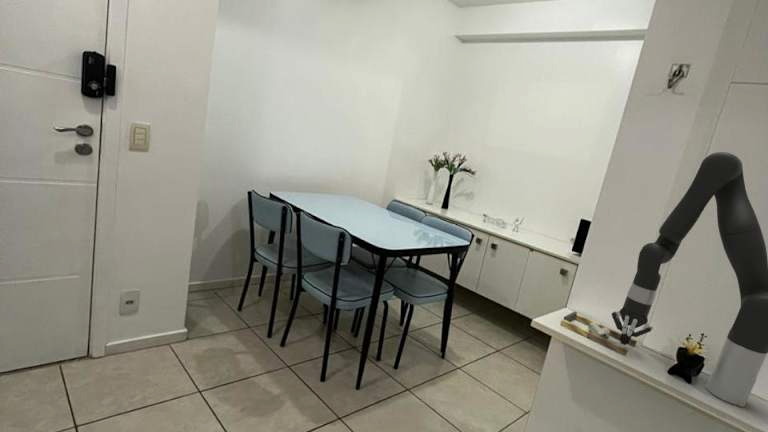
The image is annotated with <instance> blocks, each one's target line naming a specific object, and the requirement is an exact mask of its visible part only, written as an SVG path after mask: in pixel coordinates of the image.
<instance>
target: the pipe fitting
mask: <svg viewBox="0 0 768 432" xmlns="http://www.w3.org/2000/svg"><path fill="white" fill-rule="evenodd" d="M595 322H596V321H594V323H590V324H589V326H588V325H587V326H588V327H587V329H588V331H590V332H592V333H594V334H596V335H598V336H600V337H602V338H604V339H607V340H609V335H610V330H609V329H608V328H609V327H607V328H605V327H606V326H605V327H604V328H600V327H599V326H598V325H597V324H596V323H597V322H596V323H595Z"/></svg>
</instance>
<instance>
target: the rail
mask: <svg viewBox="0 0 768 432" xmlns="http://www.w3.org/2000/svg"><path fill="white" fill-rule="evenodd" d="M573 321H577V322H580V323H582V324H584V325H585V326H589V324H590V323H594V322H595V323H596V324H597V325H598V326H599V327H600V328H604V327H605V328H608V329H609V330H610V335H609V336H610V337H611V338H614V339H616V340H619V339H620V337H621V334H622V332H619V331H617V330H613V329H612V328H609V327H608V326H605V325H603V324H601V323H598V322H597V321H595V320H592V319H589V318H587V317H585V316H583V315H581V314H578V312H577V311H573V312H571V313H569V314H567V315H564V316H563V319H561V322H560V326H562V327H563V328H566V329H568V330H571V331H572V332H574V333H577V334H579V335H580V336H582V337H584V338H587V339H589V340H591V341H593V342H595V343H596V344H598V345H601V346H604V347H605V348H607V349H609V350H611V351H612V352H613V351H614V352H615V353H617V354H620V355H622V356H624V357H625V356H626V355H627V353H628V350H629V349H627V348H625V347H623V346H621V345H619V344H616V343H615V342H613V341H610V340H609V339H608V340H607V339H604V338H602V337H600V336H598V335H596V334H594V333H592V332H591V331H590V330H589V329H588V330H587V329H585V328H583V327H581V326H579V325H577V324H575V323H573ZM619 341H620V340H619ZM637 342H638V340H637V339H634V338H632V337H631V339H630V342H629V343H628V344H627V345H629V346H631V347H633V348H635V347H636V345H637Z"/></svg>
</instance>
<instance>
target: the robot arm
mask: <svg viewBox="0 0 768 432" xmlns="http://www.w3.org/2000/svg"><path fill="white" fill-rule="evenodd" d="M713 197H714V199H715V203H716V217H717V227H718V231H719V232H718V233H719V237H720V240H721V243H722V246H723V250H724V253H725V254H726V257H727V259H728V262H729V263H730V265H731V268H732V270H733V271H734V273H735V276H736V279H737V284H738V289H739V296H740V308H739V310H738V313H737V315H736V318H735V320H734V322H733V324H732V326H731V328H730V329H729V332H728V334H727V337H726V338H725V341H724V343H723V346H722V348H721V350H720V353H719V354H718V358H717V360H716V362H715V364H714V367H713V368H712V371H711V373H710V377H709V379H708V380H707V383H706V386H705V388H706V390H708V391H707V392H709V393H710V394H712V395H713V396H715V397H717V398H718V399H720V400H723V401H724V402H727V403H729V404H733V405H736V406H739V407H741V408H744V407H745V406H746V404H747V401H748V399H749V397H750V394H751V393H752V390H753V387H754V386H755V384H756V382H757V377H758V375H759V374H760V371H761V368H762V366H763V365H764V362H765V359H766V358H767V355H768V253H767V246H766V242H765V238H764V236H763V231H762V229H761V225H760V223H759V221H758V217H757V214H756V212H755V210H754V208H753V206H752V203H751V201H750V199H749V197H748V194H747V189H746V185H745V178H744V170H743V162H742V160H741V159H740V158H739V157H738V156H736V155H735V154H732V153H729V152H726V151H719V152H718V151H717V152H713V153H711V154H709V155H708V156H706V157H705V158H704V159H703V160H702V162H701V164H700V166H699V169H698V170H697V173H696V175H695V177H694V179H693V180H692V182H691V184H690V185H689V187H688V189H687V191H686V192H685V194H684V195H683V197H681V199H680V201H679V202H678V203H677V204H676V206H675V207H674V208H673V210H672V211H671V212H670V214H669V215H668V216H667V218H666V219H665V221H664V222H663V223H662V225H661V226H660V228H659V230H658V233H659V235H658V237H657V239H656V240H655V241H654V242H649V243H646V244H644V245H643V246H642V248H641V249H640V251H639V254H638V257H637V258H638V259H637V265H636V266H637V270H636V273H635V275H634V278H633V280H632V283H631V286H629V290H628V291H627V293H626V294H627V295H626V298H625V300H624V303H623V305H622V308H620V309H619V311H613V312H612V313H611V317H612V319H613V322H614V324H615V327H616V329H617V330H619V331H620V333H621V337H620V339H619V342H620V344H621V345H624V346H626V345H629V344H628V343H629V342H630V339H631V338H632V337H634V338H637V337H641V336H643V335H645V334H648V333H650V332H651V331H653V329H654V328H653V326H651V325H649V323H648V322H649V319H648V317H649V314H650V311H651V308H652V306H653V303H654V300H655V298H656V293H657V289H658V287H659V284H660V282H661V273H660V270H661V265H662V264H667V263H669V262H670V261H671V260H672V259H673V258H674V257H675V255H676V254H677V251H678V249H679V247H680V245H681V243H682V241H683V240H684V239H685V237H686V236H687V235H688V234H689V233H690V231H691V230H692V229H693V227H694V226H695V224H696V223H697V222H698V220H699V219H700V217H701V215H702V213H703V211H704V209H705V208H706V206H707V205H708V203H709V202H710V201H711V200H712V198H713ZM620 317H621V319H620ZM621 321H622V322H623V324H622V322H621ZM639 327H642V329H641V330H638V331H635V330H636V329H637V328H639Z"/></svg>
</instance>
